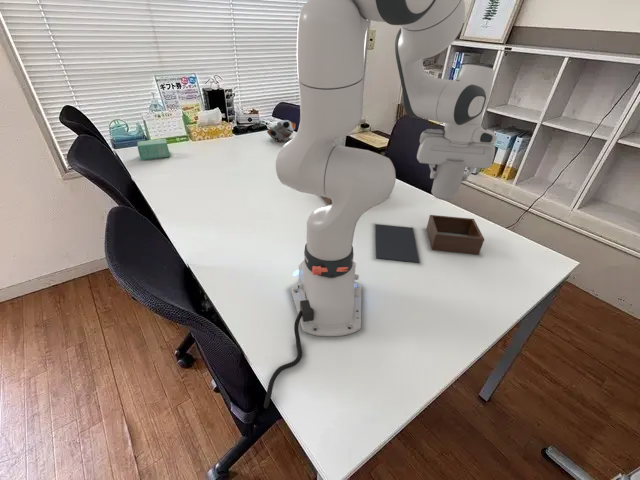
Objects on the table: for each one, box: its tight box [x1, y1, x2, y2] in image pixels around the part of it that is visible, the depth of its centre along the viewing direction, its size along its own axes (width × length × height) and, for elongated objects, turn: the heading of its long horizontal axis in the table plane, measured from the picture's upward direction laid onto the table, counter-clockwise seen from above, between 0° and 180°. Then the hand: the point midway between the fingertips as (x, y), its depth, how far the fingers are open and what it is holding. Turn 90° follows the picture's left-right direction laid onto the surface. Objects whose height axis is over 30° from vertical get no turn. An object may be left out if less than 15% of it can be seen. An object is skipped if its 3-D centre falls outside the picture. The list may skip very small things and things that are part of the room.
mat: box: [374, 223, 420, 264], centre depth 108 cm, size 20×13×1 cm, turn 173°
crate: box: [425, 214, 485, 256], centre depth 108 cm, size 13×15×6 cm
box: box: [136, 138, 171, 161], centre depth 163 cm, size 7×14×8 cm, turn 116°
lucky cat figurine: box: [266, 119, 296, 143], centre depth 192 cm, size 15×12×14 cm
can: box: [430, 160, 467, 201], centre depth 96 cm, size 8×8×12 cm
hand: (447, 179), depth 96 cm, fingers closed on can, 7 cm apart
